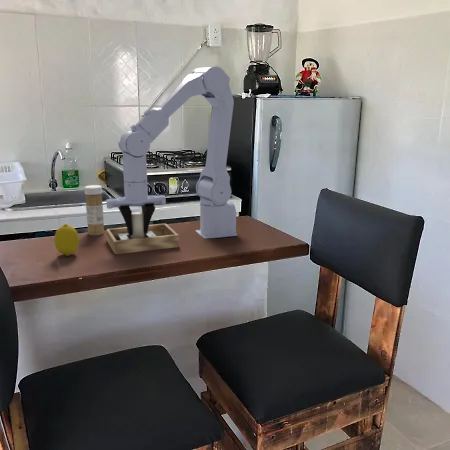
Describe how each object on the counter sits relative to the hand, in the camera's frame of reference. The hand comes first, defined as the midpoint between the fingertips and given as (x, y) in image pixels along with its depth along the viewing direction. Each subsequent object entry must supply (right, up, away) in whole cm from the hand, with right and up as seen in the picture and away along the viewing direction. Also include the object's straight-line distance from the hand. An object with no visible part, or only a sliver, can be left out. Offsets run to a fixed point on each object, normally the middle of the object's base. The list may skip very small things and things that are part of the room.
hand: (137, 233), depth 128 cm
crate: (+1, -3, +1) cm, 3 cm away
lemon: (-15, -6, -8) cm, 18 cm away
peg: (0, -2, +1) cm, 2 cm away
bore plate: (0, -3, +1) cm, 3 cm away
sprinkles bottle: (-13, -1, +11) cm, 17 cm away
